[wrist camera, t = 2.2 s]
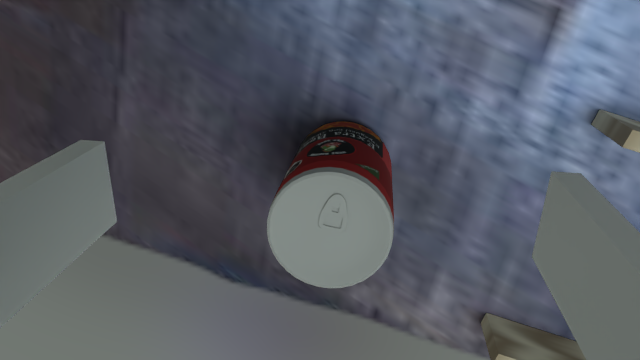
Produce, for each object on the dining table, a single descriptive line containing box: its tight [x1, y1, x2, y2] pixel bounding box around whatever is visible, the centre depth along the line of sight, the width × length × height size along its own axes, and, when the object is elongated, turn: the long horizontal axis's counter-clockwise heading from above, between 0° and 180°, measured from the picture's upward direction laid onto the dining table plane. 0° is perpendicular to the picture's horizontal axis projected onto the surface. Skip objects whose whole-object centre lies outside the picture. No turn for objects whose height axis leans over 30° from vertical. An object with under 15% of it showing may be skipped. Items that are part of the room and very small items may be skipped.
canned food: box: [267, 121, 394, 288], centre depth 33 cm, size 8×8×11 cm
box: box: [481, 109, 640, 360], centre depth 36 cm, size 13×20×5 cm, turn 164°
